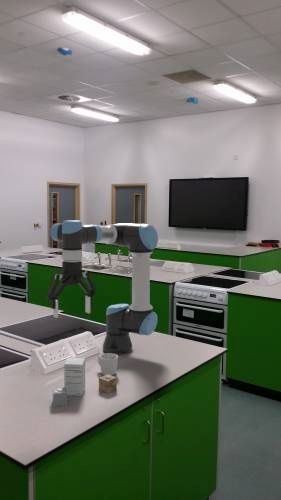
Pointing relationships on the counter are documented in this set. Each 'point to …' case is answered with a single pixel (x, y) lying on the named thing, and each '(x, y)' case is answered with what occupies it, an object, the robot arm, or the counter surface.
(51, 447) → the counter surface
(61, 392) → the slate block
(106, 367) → the cup
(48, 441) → the counter surface
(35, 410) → the counter surface
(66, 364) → the miniature drawer cabinet
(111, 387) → the beige speckled cube
